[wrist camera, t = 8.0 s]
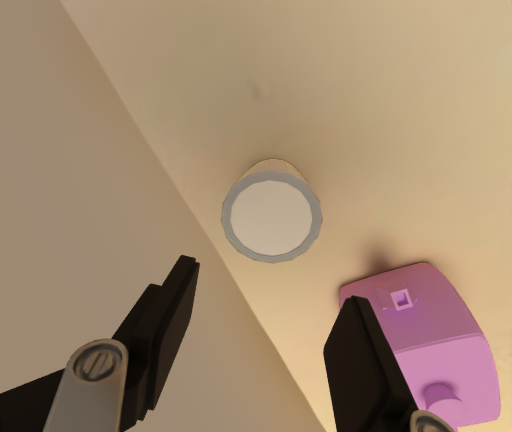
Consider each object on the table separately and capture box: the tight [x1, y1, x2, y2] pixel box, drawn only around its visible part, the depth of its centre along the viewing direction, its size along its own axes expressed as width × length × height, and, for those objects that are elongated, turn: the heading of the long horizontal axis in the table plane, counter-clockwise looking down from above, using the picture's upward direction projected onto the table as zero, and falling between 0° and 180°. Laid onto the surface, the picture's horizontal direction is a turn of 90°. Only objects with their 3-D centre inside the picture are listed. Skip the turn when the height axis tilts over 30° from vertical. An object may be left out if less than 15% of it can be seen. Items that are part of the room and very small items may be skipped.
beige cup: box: [221, 159, 322, 263], centre depth 22 cm, size 7×7×7 cm
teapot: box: [339, 263, 501, 432], centre depth 24 cm, size 18×10×10 cm, turn 24°
